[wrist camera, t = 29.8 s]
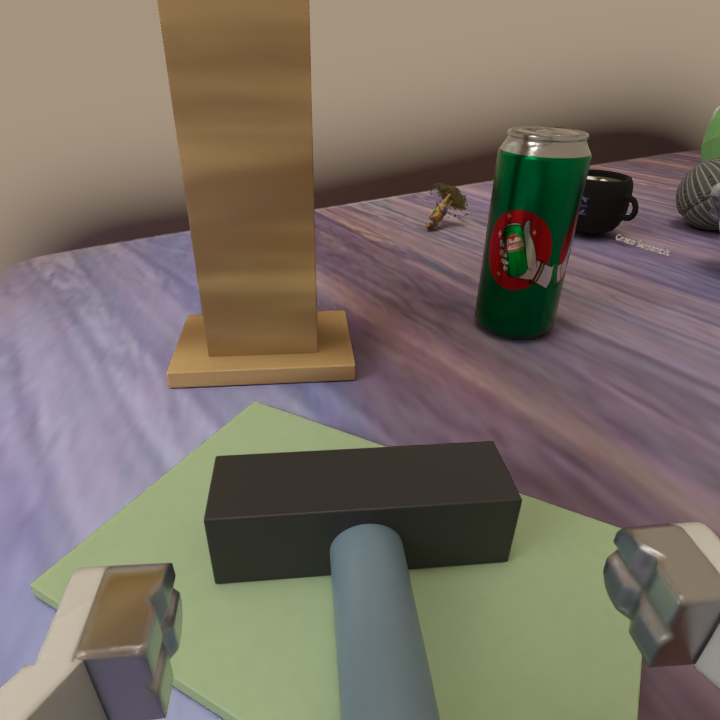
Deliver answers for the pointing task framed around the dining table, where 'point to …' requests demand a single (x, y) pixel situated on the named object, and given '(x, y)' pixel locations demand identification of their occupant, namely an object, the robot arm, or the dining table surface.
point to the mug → (608, 205)
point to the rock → (716, 198)
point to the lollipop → (699, 195)
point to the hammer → (364, 546)
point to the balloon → (711, 140)
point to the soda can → (531, 228)
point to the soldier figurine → (449, 197)
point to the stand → (249, 195)
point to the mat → (431, 593)
